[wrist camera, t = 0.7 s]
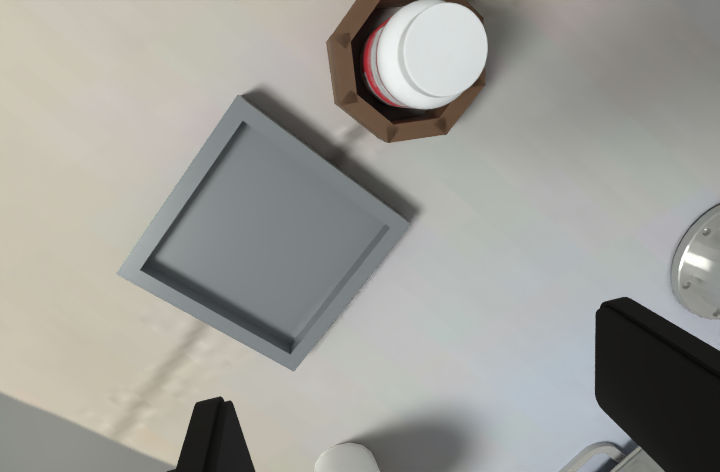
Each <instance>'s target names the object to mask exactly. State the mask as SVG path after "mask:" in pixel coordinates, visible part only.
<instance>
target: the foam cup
mask: <svg viewBox="0 0 720 472" xmlns="http://www.w3.org/2000/svg"><path fill="white" fill-rule="evenodd" d="M314 472H380V470H379V468H378V465H377V463H376V461H375V458H374V456H373V454H372V452H371V451H370V450H368V449H367V448H366V447H364V446H363V445H360V444H355V443H344V444H338V445H335V446H333V447H331V448H330V449H328V450H326V451H325V452H323V453H322V455H321V456H320V457H319V459H318V460H317V461H316V464H315V471H314Z"/></svg>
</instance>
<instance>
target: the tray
mask: <svg viewBox="0 0 720 472" xmlns="http://www.w3.org/2000/svg"><path fill="white" fill-rule="evenodd" d="M410 225H411V224H410V223H409V222H408V221H407V220H406V219H405V218H404V217H403V216H402V215H401V214H399V213H398V212H397V211H395V210H394V209H393V208H391V207H390V206H389V205H387V204H386V203H385V202H383V201H382V200H381V199H379V198H378V197H377V196H375V195H374V194H373V193H371V192H370V191H369V190H367V189H366V188H365V187H363V186H362V185H361V184H359V183H358V182H357V181H355V180H354V179H353V178H351V177H350V176H349V175H347V174H346V173H345V172H343V171H342V170H340V169H339V168H338V167H336V166H335V165H334V164H332V163H331V162H330V161H328V160H327V159H326V158H324V157H323V156H322V155H320V154H319V153H318V152H316V151H315V150H314V149H312V148H311V147H310V146H308V145H307V144H306V143H304V142H303V141H302V140H300V139H299V138H298V137H296V136H295V135H294V134H292V133H291V132H290V131H288V130H287V129H286V128H284V127H283V126H282V125H280V124H279V123H278V122H276V121H275V120H274V119H272V118H271V117H270V116H268V115H267V114H266V113H264V112H263V111H262V110H260V109H259V108H258V107H256V106H255V105H254V104H252V103H251V102H249V101H248V100H247V99H245V98H244V97H243V96H241V95H237V97H236V98H235V100H234V101H233V103H232V104H231V106H230V107H229V109H228V110H227V111H226V113H225V114H224V116H223V117H222V119H221V120H220V122H219V123H218V125H217V126H216V128H215V129H214V131H213V132H212V134H211V135H210V136H209V138H208V139H207V141H206V142H205V144H204V145H203V147H202V148H201V150H200V151H199V153H198V154H197V156H196V157H195V159H194V160H193V161H192V163H191V164H190V166H189V167H188V169H187V170H186V172H185V173H184V175H183V176H182V178H181V179H180V181H179V182H178V184H177V185H176V186H175V188H174V189H173V191H172V192H171V194H170V195H169V197H168V198H167V200H166V201H165V203H164V204H163V206H162V207H161V209H160V210H159V211H158V213H157V214H156V216H155V217H154V219H153V220H152V222H151V223H150V225H149V226H148V228H147V229H146V231H145V232H144V234H143V235H142V236H141V238H140V239H139V241H138V242H137V244H136V245H135V247H134V248H133V250H132V251H131V253H130V254H129V256H128V257H127V259H126V260H125V261H124V263H123V264H122V266H121V267H120V269H119V270H118V272H117V273H116V274H117V275H119V276H121V277H122V278H124V279H126V280H128V281H130V282H131V283H133V284H135V285H137V286H139V287H141V288H142V289H144V290H146V291H148V292H150V293H152V294H153V295H155V296H157V297H159V298H161V299H162V300H164V301H166V302H168V303H170V304H172V305H173V306H175V307H177V308H179V309H181V310H183V311H184V312H186V313H188V314H190V315H192V316H194V317H195V318H197V319H199V320H201V321H203V322H204V323H206V324H208V325H210V326H212V327H214V328H215V329H217V330H219V331H221V332H223V333H225V334H226V335H228V336H230V337H232V338H234V339H235V340H237V341H239V342H241V343H243V344H245V345H246V346H248V347H250V348H252V349H254V350H256V351H257V352H259V353H261V354H263V355H265V356H266V357H268V358H270V359H272V360H274V361H276V362H277V363H279V364H281V365H283V366H285V367H287V368H288V369H290V370H292V371H295V370H296V368H297V367H298V366H299V365H300V363H301V362H302V361H303V360H304V358H305V357H306V356H307V355H308V353H309V352H310V351H311V350H312V348H313V347H314V346H315V345H316V343H317V342H318V341H319V339H320V338H321V337H322V336H323V334H324V333H325V332H326V331H327V329H328V328H329V327H330V326H331V324H332V323H333V322H334V321H335V319H336V318H337V317H338V316H339V314H340V313H341V312H342V311H343V309H344V308H345V307H346V305H347V304H348V303H349V302H350V300H351V299H352V298H353V297H354V295H355V294H356V293H357V292H358V290H359V289H360V288H361V287H362V285H363V284H364V283H365V282H366V280H367V279H368V278H369V277H370V275H371V274H372V273H373V271H374V270H375V269H376V268H377V266H378V265H379V264H380V263H381V261H382V260H383V259H384V258H385V256H386V255H387V254H388V253H389V251H390V250H391V249H392V248H393V246H394V245H395V244H396V242H397V241H398V240H399V239H400V237H401V236H402V235H403V234H404V232H405V231H406V230H407V229H408V227H409V226H410Z"/></svg>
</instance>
